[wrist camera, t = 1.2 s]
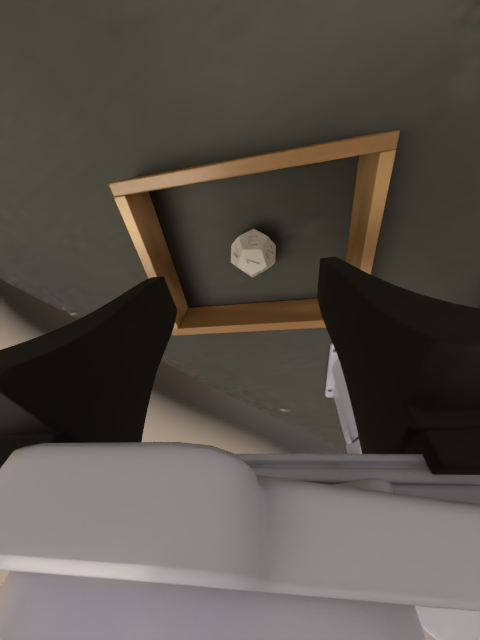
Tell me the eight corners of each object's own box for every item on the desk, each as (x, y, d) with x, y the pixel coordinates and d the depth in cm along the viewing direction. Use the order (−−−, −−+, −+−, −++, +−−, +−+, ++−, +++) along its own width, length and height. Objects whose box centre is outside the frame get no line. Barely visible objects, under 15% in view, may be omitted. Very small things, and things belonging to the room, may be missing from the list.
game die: (267, 272, 21) (267, 288, 18) (227, 259, 20) (222, 274, 18) (282, 234, 18) (285, 247, 16) (238, 219, 18) (234, 230, 16)
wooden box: (348, 302, 22) (360, 325, 19) (183, 314, 24) (172, 335, 22) (375, 132, 14) (401, 129, 11) (133, 177, 17) (107, 183, 14)
